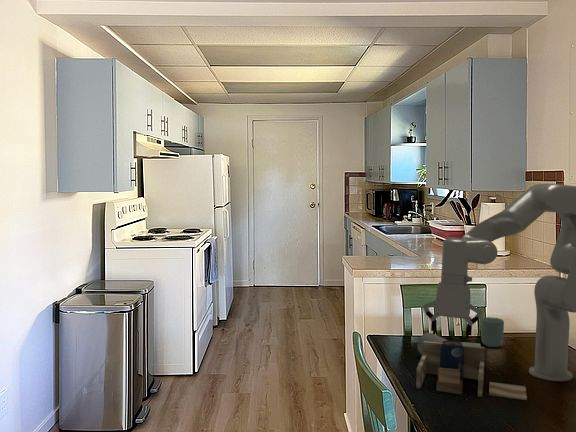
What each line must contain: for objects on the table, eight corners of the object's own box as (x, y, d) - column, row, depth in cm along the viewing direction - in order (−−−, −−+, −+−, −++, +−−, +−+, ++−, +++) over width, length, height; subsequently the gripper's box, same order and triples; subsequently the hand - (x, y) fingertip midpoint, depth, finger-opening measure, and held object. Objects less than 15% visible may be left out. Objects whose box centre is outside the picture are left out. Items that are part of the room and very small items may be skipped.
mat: (489, 383, 176) (489, 381, 176) (525, 388, 172) (525, 386, 172) (489, 395, 166) (489, 393, 166) (526, 400, 163) (526, 398, 163)
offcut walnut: (438, 387, 173) (438, 377, 173) (462, 390, 170) (462, 380, 170) (436, 391, 169) (436, 381, 169) (461, 395, 167) (461, 384, 167)
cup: (476, 344, 219) (477, 317, 219) (493, 342, 222) (494, 316, 221) (489, 349, 212) (490, 322, 211) (507, 348, 214) (508, 321, 214)
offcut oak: (438, 377, 173) (438, 367, 172) (459, 379, 171) (459, 369, 171) (438, 381, 169) (438, 371, 169) (459, 383, 167) (460, 373, 167)
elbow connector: (416, 365, 188) (481, 371, 184) (417, 332, 190) (482, 337, 185) (416, 362, 205) (476, 366, 201) (417, 331, 207) (476, 335, 203)
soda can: (464, 386, 173) (465, 346, 172) (440, 384, 174) (441, 345, 173) (461, 378, 180) (462, 340, 179) (438, 377, 181) (439, 339, 180)
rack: (422, 371, 186) (423, 340, 185) (483, 379, 180) (484, 347, 179) (416, 388, 171) (417, 354, 170) (482, 396, 165) (483, 362, 164)
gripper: (484, 280, 176) (481, 336, 177) (426, 275, 182) (423, 329, 182) (483, 284, 169) (480, 342, 170) (423, 278, 175) (420, 334, 175)
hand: (450, 335), depth 176 cm, fingers open, 9 cm apart
